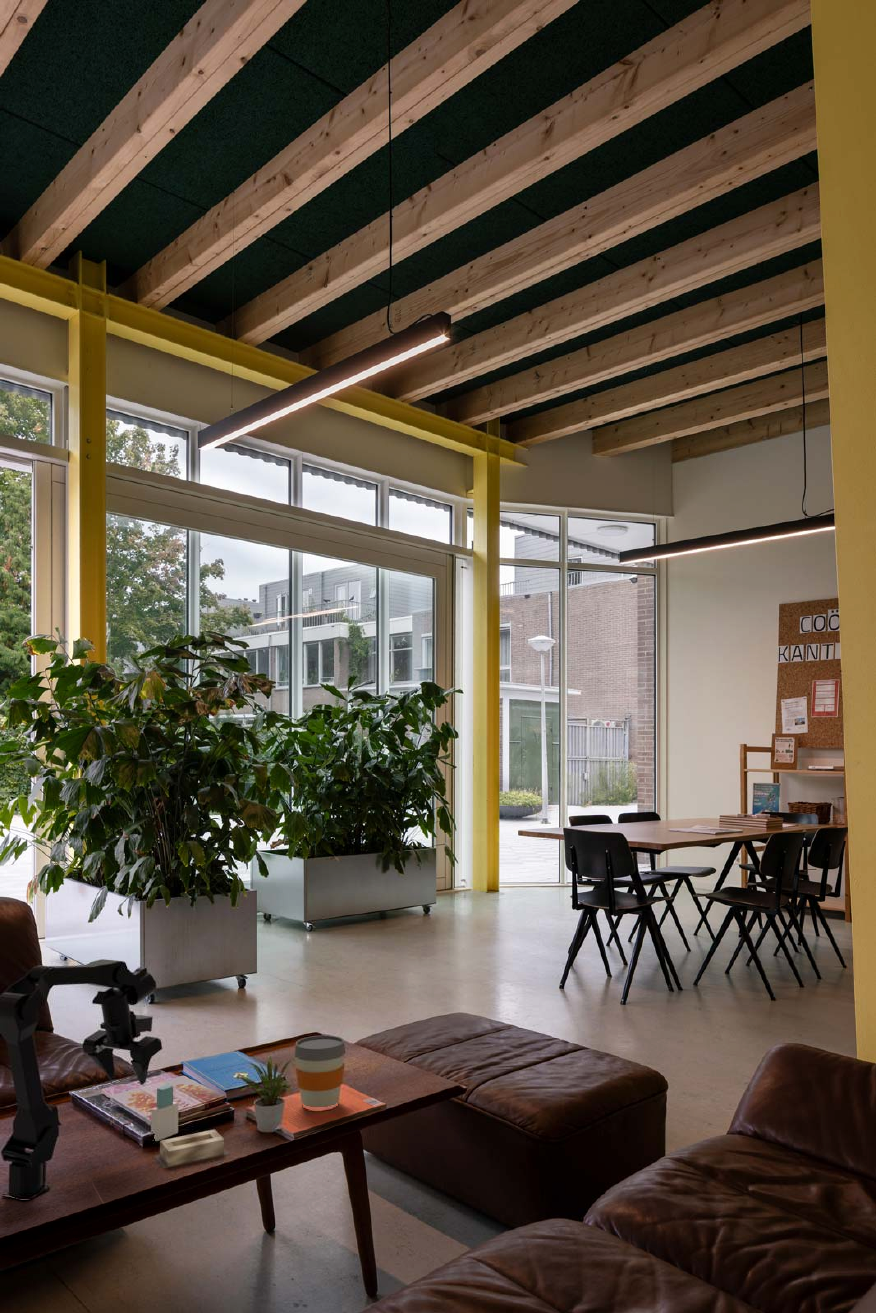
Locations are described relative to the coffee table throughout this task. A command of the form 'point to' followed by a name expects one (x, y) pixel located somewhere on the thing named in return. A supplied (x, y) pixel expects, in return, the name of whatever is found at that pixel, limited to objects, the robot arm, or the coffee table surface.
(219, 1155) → the mat
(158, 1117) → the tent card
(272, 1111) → the house plant
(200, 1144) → the slot rack
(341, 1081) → the reusable coffee cup
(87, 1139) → the coffee table surface
